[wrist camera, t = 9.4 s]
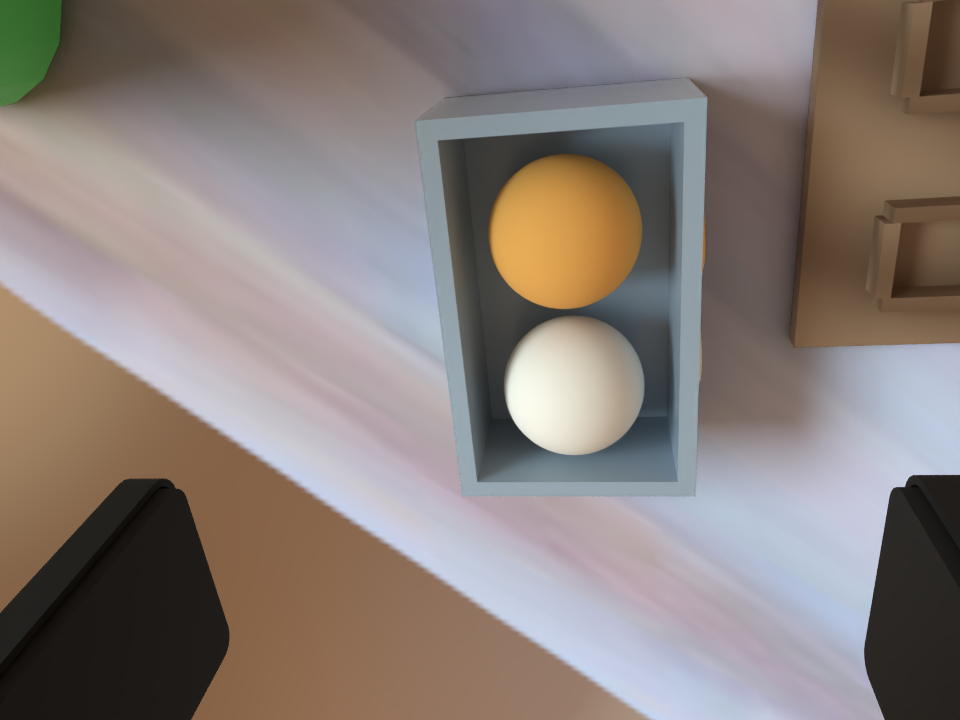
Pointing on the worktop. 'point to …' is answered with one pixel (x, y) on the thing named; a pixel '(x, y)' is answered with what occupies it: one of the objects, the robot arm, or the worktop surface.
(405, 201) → the worktop surface
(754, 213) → the worktop surface
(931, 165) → the walnut rack
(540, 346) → the cream ball in tray
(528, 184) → the orange ball
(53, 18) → the bottle
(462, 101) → the pale blue tray
